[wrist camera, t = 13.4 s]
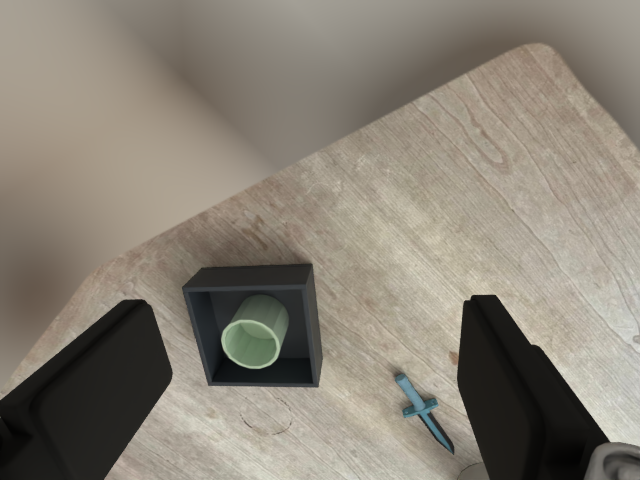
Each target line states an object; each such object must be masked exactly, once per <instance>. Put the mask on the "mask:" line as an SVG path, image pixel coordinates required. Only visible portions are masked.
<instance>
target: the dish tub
mask: <svg viewBox="0 0 640 480" xmlns="http://www.w3.org/2000/svg"><path fill="white" fill-rule="evenodd" d="M182 290H183V294H184V298H185V301H186V305H187V309H188V312H189V316H190V320H191V324H192V327H193V331H194V335H195V338H196V342H197V346H198V349H199V353H200V357H201V360H202V364H203V368H204V372H205V375H206V379H207V383H208V386H260V387H319V380H320V373H321V367H322V360H323V356H322V347H321V338H320V329H319V320H318V310H317V301H316V292H315V283H314V274H313V265H312V264H298V265H269V266H241V267H212V268H201V269H200V270H199V271H198V272H197V273H196V274H195V275H194V276H193V277H192V278H191V279H190V280H189V281H188V282H187V283H186V284H185V285H184V286H183V287H182ZM258 294H262V295H268V296H271V297H273V298H275V299H277V300H278V301H280V302H281V303H282V304H283V305H284V307H285V308H286V310H287V312H288V315H289V325H288V328H287V331H286V334H285V337H284V340H283V343H282V346H281V349H280V352H279V355H278V358H277V359H276V360H275V361H274V362H273V363H272V364H271V365H269V366H267V367H264V368H261V369H250V368H246V367H243V366H240V365H238V364H237V363H235V362H234V361H232V360H231V359H230V358H229V357H228V356H227V354H226V353H225V351H224V350H223V346H222V342H221V338H222V334H223V330H224V329H225V327H226V326H227V324H228V322H229V321H230V319H231V318H232V316H233V314H234V313H235V311H236V310H237V308H238V307H239V305H240V304H241V303H242V301H243V300H245V299H246V298H248V297H250V296H252V295H258Z"/></svg>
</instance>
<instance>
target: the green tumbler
mask: <svg viewBox="0 0 640 480" xmlns="http://www.w3.org/2000/svg"><path fill="white" fill-rule="evenodd" d="M288 325H289V315H288V312H287V310H286V308H285V307H284V305H283V304H282V303H281V302H280V301H278V300H277V299H275V298H273V297H271V296H268V295H262V294H258V295H252V296H250V297H248V298H246V299H245V300H243V301H242V303H241V304H240V305H239V307H238V308H237V310H236V311H235V313H234V314H233V316H232V318H231V319H230V321H229V322H228V324H227V326H226V327H225V329H224V330H223V334H222V338H221V342H222V346H223V350H224V351H225V353H226V354H227V356H228V357H229V358H230V359H231V360H232V361H234V362H235V363H237V364H238V365H240V366H243V367H246V368H250V369H261V368H264V367H267V366H269V365H271V364H272V363H273V362H274V361H275V360H276V359H277V358H278V355H279V352H280V349H281V346H282V343H283V340H284V337H285V334H286V331H287V328H288Z"/></svg>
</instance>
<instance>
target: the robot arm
mask: <svg viewBox="0 0 640 480" xmlns="http://www.w3.org/2000/svg"><path fill="white" fill-rule="evenodd" d="M172 375H173V372H172V368H171V365H170V362H169V359H168V356H167V352H166V349H165V346H164V343H163V340H162V337H161V334H160V331H159V328H158V325H157V322H156V319H155V315H154V312H153V309H152V307H151V306H150V305H149V304H147V302H146V301H145V300H142V299H135V300H123V301H121V302H120V303H118V304H117V305H116V306H115V307H114V308H112V309H111V310H110V311H109V312H108V313H106V314H105V315H104V316H103V317H101V318H100V319H99V320H98V321H97V322H95V323H94V324H93V325H92V326H90V327H89V328H88V329H87V330H86V331H84V332H83V333H82V334H81V335H79V336H78V337H77V338H76V339H75V340H73V341H72V342H71V343H70V344H69V345H67V346H66V347H65V348H64V349H62V350H61V351H60V352H59V353H58V354H56V355H55V356H54V357H53V358H51V359H50V360H49V361H48V362H47V363H45V364H44V365H43V366H42V367H40V368H39V369H38V370H37V371H36V372H34V373H33V374H32V375H31V376H29V377H28V378H27V379H26V380H25V381H23V382H22V383H21V384H20V385H19V386H17V387H16V388H15V389H14V390H12V391H11V392H10V393H9V394H8V395H6V396H5V397H4V398H3V399H1V400H0V417H1V418H0V480H104V478H105V477H106V476H107V474H108V473H109V471H110V470H111V468H112V467H113V465H114V464H115V462H116V461H117V460H118V458H119V457H120V455H121V454H122V452H123V451H124V449H125V448H126V446H127V445H128V443H129V442H130V441H131V439H132V438H133V436H134V435H135V433H136V432H137V430H138V429H139V427H140V426H141V425H142V423H143V422H144V420H145V419H146V417H147V416H148V414H149V413H150V411H151V410H152V409H153V407H154V406H155V404H156V403H157V401H158V400H159V398H160V397H161V395H162V394H163V392H164V391H165V390H166V388H167V387H168V385H169V384H170V382H171V379H172ZM457 382H458V388H459V391H460V394H461V397H462V400H463V403H464V406H465V409H466V412H467V415H468V418H469V421H470V424H471V427H472V429H473V432H474V435H475V438H476V441H477V444H478V447H479V450H480V453H481V456H482V459H483V462H484V465H485V467H486V470H487V473H488V476H489V479H490V480H640V447H638V446H636V445H631V444H626V443H621V442H610V441H609V439H608V438H607V437H606V435H605V434H604V433H603V431H602V430H601V428H600V427H599V426H598V424H597V423H596V422H595V420H594V419H593V418H592V416H591V415H590V414H589V412H588V411H587V410H586V408H585V407H584V405H583V404H582V403H581V401H580V400H579V399H578V397H577V396H576V395H575V393H574V392H573V391H572V389H571V388H570V387H569V385H568V384H567V382H566V381H565V380H564V378H563V377H562V376H561V374H560V373H559V372H558V370H557V369H556V368H555V366H554V365H553V363H552V362H551V361H550V359H549V358H548V357H547V355H546V354H545V353H544V351H543V350H542V349H541V348H540V347H539V346H537V345H531V344H530V342H529V341H528V340H527V338H526V337H525V335H524V334H523V333H522V331H521V330H520V328H519V327H518V326H517V324H516V323H515V321H514V320H513V318H512V317H511V316H510V314H509V313H508V311H507V310H506V309H505V307H504V306H503V304H502V303H501V301H500V300H499V299H498V297H497V296H496V295H472V296H471V299H470V300H465V301H464V304H463V315H462V326H461V338H460V349H459V361H458V372H457Z"/></svg>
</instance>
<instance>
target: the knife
mask: <svg viewBox="0 0 640 480" xmlns="http://www.w3.org/2000/svg"><path fill="white" fill-rule="evenodd" d="M395 381H396V383H398V384H399V386H400V387H401V388H402V389H403V391H404V392H405V394H406V395H407V396H408V398H409V399H410V401H411V402H412V403H413V406H410V407H408V408H406V409H404V410H402V411H403V416H404V418H406V417H411V416H414V415H418V416H419V417H420V418H422V419H421V420H422V421H423V423H424V424H425V426H427V428H428V429H429V431H430V432H431V434H432V435H433V436H434V438H435V439H436V440H437V441H438V442H439V443H440V444H441V445H443V446H444V447H445V448H446V449H447V450H449V451H450V452H451V453H452V454H453V455H454V446H453V444H452V442H451V440H450V439H449V438H448V436H447V435H446V433H445V432H444V431H443V429H442V428H441V426H440V425H439V424H438V422H437V421H436V420H435V418H434V417H433V415H432V414H431V413H430V411H429V410H431V409H433V408H435V407H437V406H438V402H437V400H436V399H431V400H427V401H424V402H423V400H422V399H421V398H420V396H419V395H418V393H417V392H416V391H415V389H414V388H413V386H412V385H411V384H410V382H409V381H408V378H407V377H406V376H405V375H404V374H401V375H398V376H397V377H396V378H395ZM433 403H434V404H433ZM407 412H408V413H407ZM406 413H407V414H406Z"/></svg>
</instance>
